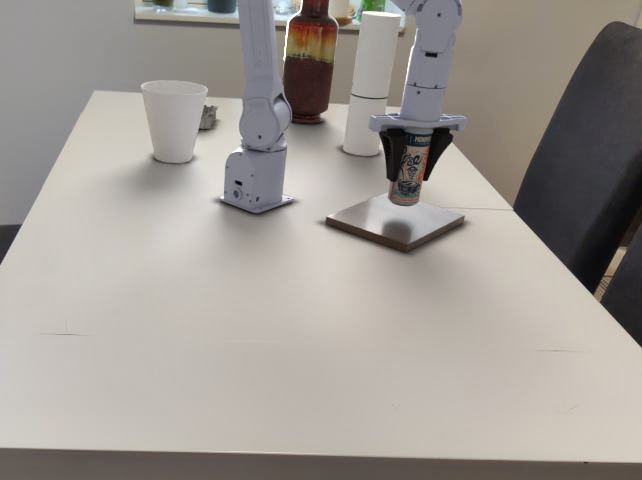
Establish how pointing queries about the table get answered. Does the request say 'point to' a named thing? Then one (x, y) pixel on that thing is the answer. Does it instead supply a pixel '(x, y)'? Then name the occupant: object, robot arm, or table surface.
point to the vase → (309, 61)
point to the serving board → (395, 222)
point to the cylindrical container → (371, 80)
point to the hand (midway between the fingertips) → (407, 179)
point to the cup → (173, 117)
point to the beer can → (411, 167)
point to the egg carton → (208, 117)
